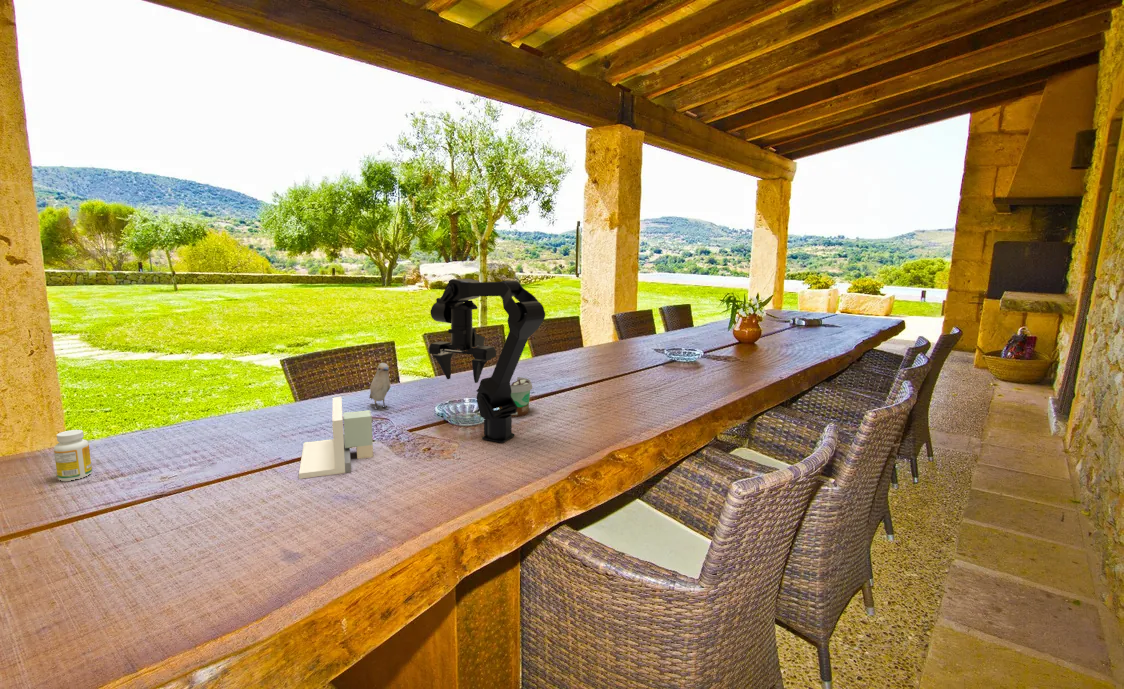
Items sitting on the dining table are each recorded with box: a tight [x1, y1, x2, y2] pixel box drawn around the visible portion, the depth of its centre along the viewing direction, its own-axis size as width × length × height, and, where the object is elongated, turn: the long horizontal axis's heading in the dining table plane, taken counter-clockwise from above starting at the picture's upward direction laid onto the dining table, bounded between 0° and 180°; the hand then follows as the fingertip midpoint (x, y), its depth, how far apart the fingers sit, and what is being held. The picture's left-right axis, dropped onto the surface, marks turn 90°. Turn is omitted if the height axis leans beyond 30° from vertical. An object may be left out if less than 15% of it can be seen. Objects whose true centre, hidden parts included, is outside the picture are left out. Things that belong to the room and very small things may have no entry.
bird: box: [369, 362, 391, 408], centre depth 160 cm, size 5×14×15 cm, turn 41°
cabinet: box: [342, 409, 374, 460], centre depth 123 cm, size 6×5×10 cm
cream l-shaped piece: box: [298, 396, 352, 480], centre depth 120 cm, size 10×20×12 cm, turn 23°
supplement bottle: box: [53, 429, 93, 482], centre depth 108 cm, size 5×5×10 cm
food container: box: [510, 376, 533, 418], centre depth 158 cm, size 12×6×10 cm, turn 168°
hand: (462, 380), depth 144 cm, fingers open, 9 cm apart
